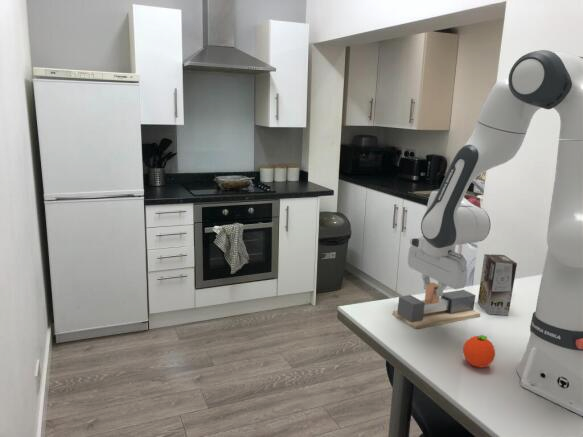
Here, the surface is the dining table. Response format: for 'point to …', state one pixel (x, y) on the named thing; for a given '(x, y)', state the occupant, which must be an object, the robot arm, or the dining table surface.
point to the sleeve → (460, 301)
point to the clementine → (479, 351)
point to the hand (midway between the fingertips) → (432, 292)
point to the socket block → (410, 308)
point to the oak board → (439, 318)
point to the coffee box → (496, 284)
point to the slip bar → (434, 300)
